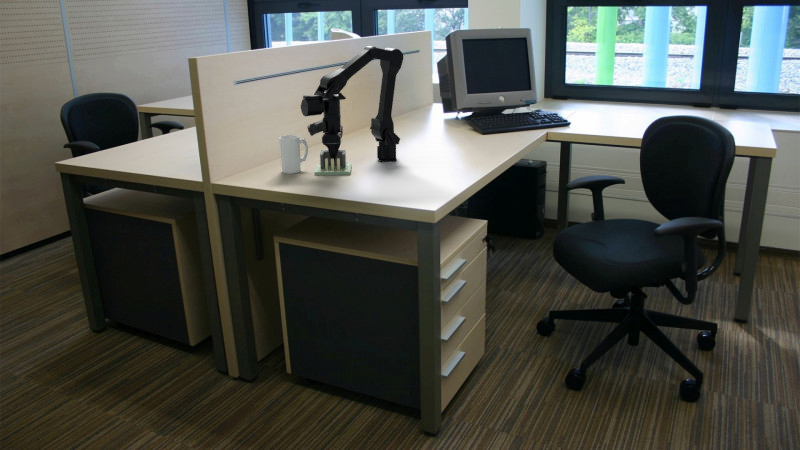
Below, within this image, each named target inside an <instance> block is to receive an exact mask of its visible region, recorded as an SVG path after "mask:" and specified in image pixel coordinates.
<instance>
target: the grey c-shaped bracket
mask: <svg viewBox="0 0 800 450" xmlns="http://www.w3.org/2000/svg"><path fill="white" fill-rule="evenodd" d="M346 151H347V150H346V149H339V150H338V153H337V156H336V158H335V161H334V166H337V159H340V166H343V168H346V163H347V154H346V153H347V152H346ZM325 159H328V166H331V158H330V154H329V151H328V149H325V150H324V149H323V150H320V154H319V161H320V162H319V163H320V165H321V169H324V166H325Z"/></svg>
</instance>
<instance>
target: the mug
mask: <svg viewBox="0 0 800 450" xmlns="http://www.w3.org/2000/svg"><path fill="white" fill-rule="evenodd" d="M301 144H302V145H303V146H304V153H303V155H302V157H301ZM279 148H280V150H279V151H280V162H281V169H282V170H281V171H282V173H283V174H287V175H289V174H291V175H292V174H297V173H300V172H301V169H302V168H301V164H302V162H306V160H307V156H308V154H309V146H308V143H307V141H306V139H305V138H304V137H303V138H300V135H297V134H285V135H284V134H283V135H281V136H279Z"/></svg>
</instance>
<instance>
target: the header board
mask: <svg viewBox="0 0 800 450" xmlns="http://www.w3.org/2000/svg"><path fill="white" fill-rule="evenodd" d="M351 172H352V162H346V168H343V166H340V159H337V166H334V159H331V166H328V159H325V166H324V169H321V165H320V162H317V163H316V166H315V169H314V176H329V175H331V176H338V175H340V176H344V175H345V176H348V175H351Z"/></svg>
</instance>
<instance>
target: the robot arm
mask: <svg viewBox="0 0 800 450" xmlns="http://www.w3.org/2000/svg"><path fill="white" fill-rule="evenodd" d="M374 59H375V60H379V62H380V63H379V65H380V69H381V73H382V76H381V84H380V85H381V86H380V93H379V103H378V109H377V115H376V116H375V118H374V117H371V120H370V127H369V129H370V130H371V131H370V132H371V135H372V136H373V137H374V138H375V142H378V145H377V146H376V148H377V150H376V153H377V155H376V156H377V157H376V158H377V159H378V162H397V145H400V141H401V138H400V137H399V135H397V134H396V133H395V125H394V121H393V117H392V113H393V105H394V96H395V91H396V90H395V89H396V80H397V75H398V73H399V71H400V70H401V68H402V65H403V63H404V53H403V52H402V51H401V50H400V49H398V48H394V47H393V48H392V47H385V48H379V47H376V46H374V45H373V46H371V45H367V46H365V47H364V48H363V49H362V50H361V51H360V52H359V53H357V55H355V56H354V57H352V58H351V59H350V60H348V62H346V63H345V64H344V65H343V66H342V67H340V68H339V69H336V70H333V71H330V72H329V73H327V74H324V76H322V77H321V78H320V79H319V81H320V82H319V85H318V87H317V88H316V90H315V92H314V94H313V95H311V94H310V95H302V100H301V102H300V103H301V104H300V110H301V114H302V116H304V117H312V116H314V117H315V116H321V115H322V114H323V116H322V119H321V120H319V121H316V122H312V123H310V124H308V125H307V126H306V129H307V130H308V131H307V132H308V133H309V136H310V137H313V136H314V135H317V134H319V133H322V134H323V135H321V143H322V145H323V146H325V147H326V148H327V150H328V151H329V154H330V158H331V159H334V161H335V158H336V156H337V153H338V150H340V146H341V144H342V137H343V134H344V129H343V128H344V127H343V125H342V122H341V121H342V119H341V118H342V115H341V101H342V100H346V99H347V98H346V96H345V95H344V94H342V91H343V89H344V88H345V87H346V85H347V83H348V81H349V80H350V79H351V78H352V77H353V76H354V75H355V74H357V73H358V72H359V71H361V70H362V69H363V68H364V67H365V66H367V65H368V64H369V63H370V62H372V61H373V60H374Z"/></svg>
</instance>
